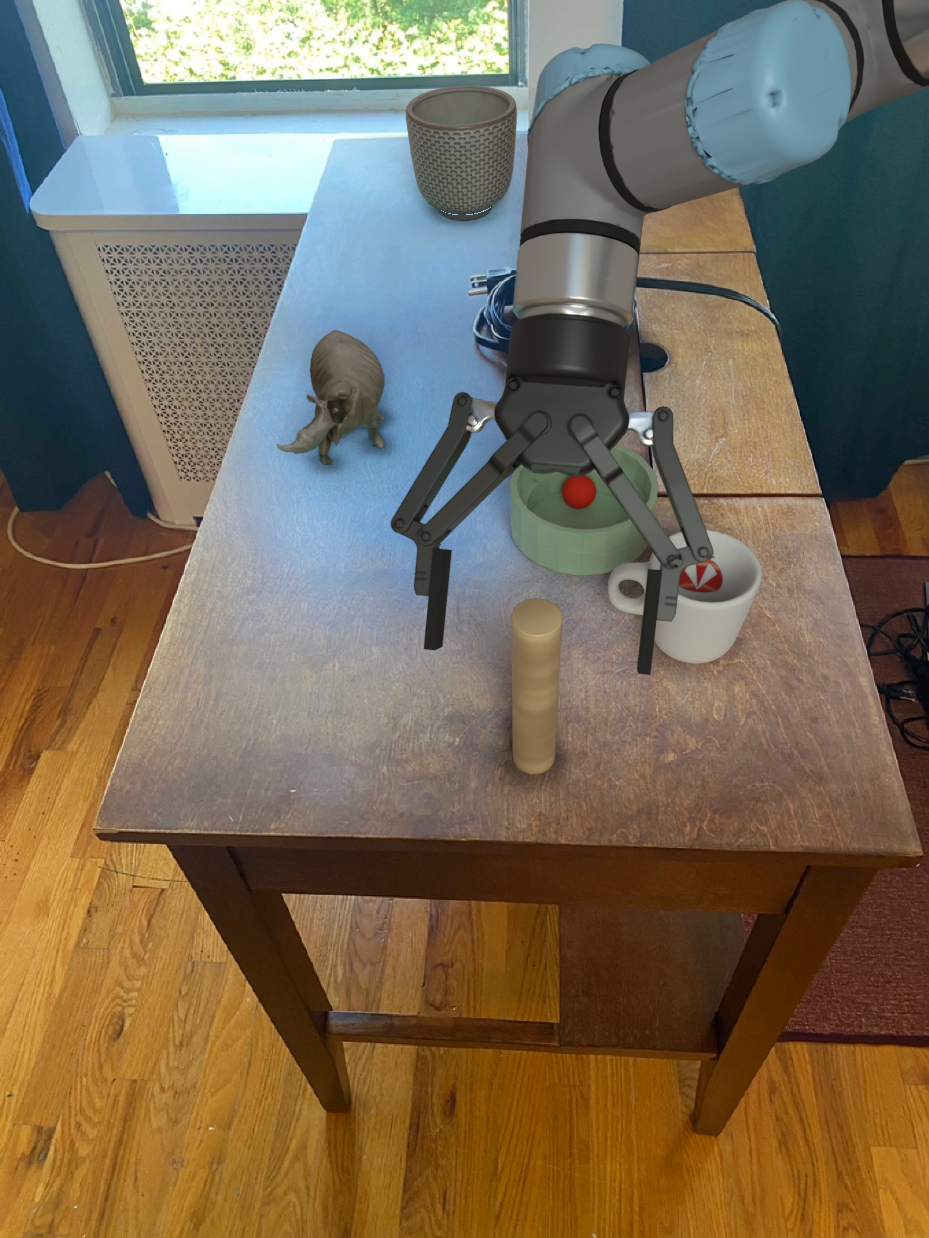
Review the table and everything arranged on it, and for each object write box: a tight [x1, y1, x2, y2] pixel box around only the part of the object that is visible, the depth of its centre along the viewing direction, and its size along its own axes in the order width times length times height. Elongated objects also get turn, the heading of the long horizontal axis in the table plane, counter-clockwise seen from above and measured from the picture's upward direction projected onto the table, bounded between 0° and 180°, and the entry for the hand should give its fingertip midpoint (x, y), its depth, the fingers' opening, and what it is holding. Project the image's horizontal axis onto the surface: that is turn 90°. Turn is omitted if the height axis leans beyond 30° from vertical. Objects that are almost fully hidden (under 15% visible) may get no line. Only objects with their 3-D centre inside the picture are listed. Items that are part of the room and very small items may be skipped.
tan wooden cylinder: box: [511, 598, 563, 775], centre depth 60 cm, size 3×3×15 cm
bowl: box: [509, 443, 660, 577], centre depth 78 cm, size 12×12×6 cm
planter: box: [405, 85, 518, 222], centre depth 118 cm, size 14×14×13 cm
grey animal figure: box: [276, 329, 386, 466], centre depth 88 cm, size 8×14×15 cm
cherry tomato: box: [562, 475, 596, 509], centre depth 81 cm, size 3×3×3 cm
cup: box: [607, 529, 763, 664], centre depth 69 cm, size 11×8×8 cm
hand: (536, 660), depth 59 cm, fingers open, 13 cm apart
